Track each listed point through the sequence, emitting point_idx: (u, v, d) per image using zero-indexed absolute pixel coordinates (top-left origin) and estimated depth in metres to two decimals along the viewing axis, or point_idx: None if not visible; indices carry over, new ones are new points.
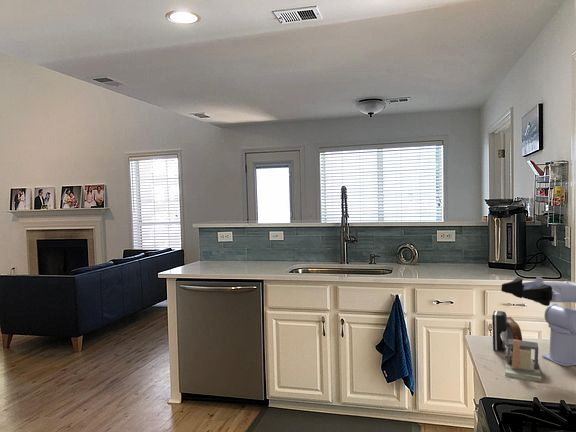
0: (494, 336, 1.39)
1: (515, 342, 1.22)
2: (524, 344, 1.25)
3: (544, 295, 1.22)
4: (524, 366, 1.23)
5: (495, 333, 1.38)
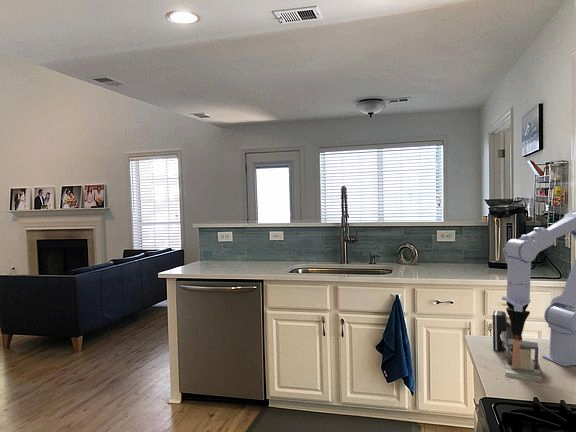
0: (494, 336, 1.39)
1: (515, 342, 1.22)
2: (524, 344, 1.25)
3: None
4: (524, 366, 1.23)
5: (495, 333, 1.38)
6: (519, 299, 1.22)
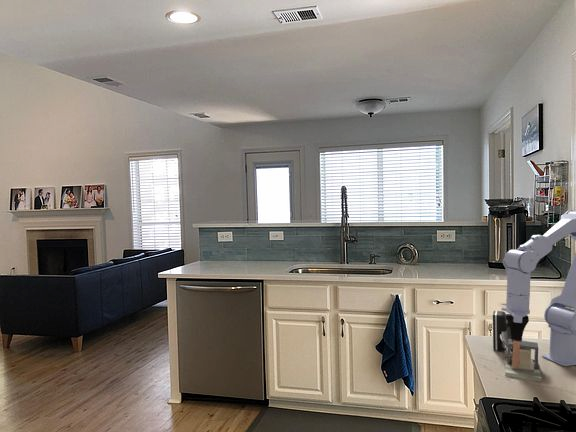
0: (494, 336, 1.39)
1: (515, 342, 1.22)
2: (524, 344, 1.25)
3: None
4: (524, 366, 1.23)
5: (495, 333, 1.38)
6: (519, 310, 1.22)
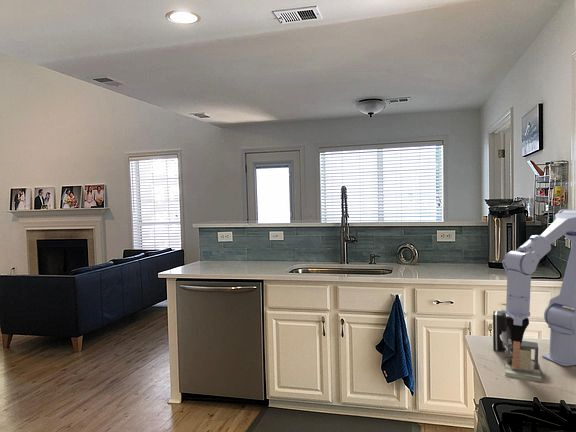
0: (494, 336, 1.39)
1: (515, 343, 1.21)
2: (524, 344, 1.25)
3: None
4: (524, 366, 1.22)
5: (495, 333, 1.38)
6: (519, 312, 1.20)
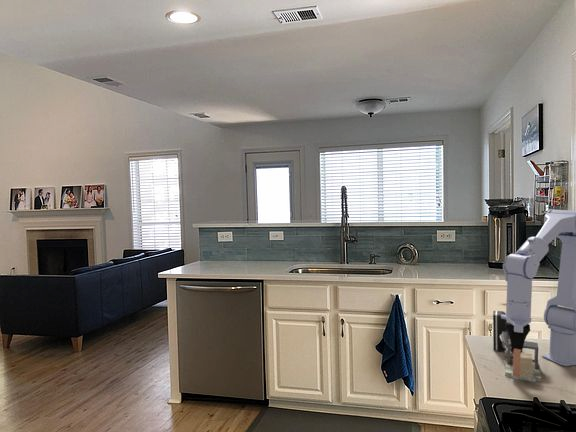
0: (495, 336, 1.39)
1: (515, 350, 1.16)
2: (524, 344, 1.25)
3: None
4: (524, 375, 1.17)
5: (495, 333, 1.38)
6: (519, 318, 1.15)
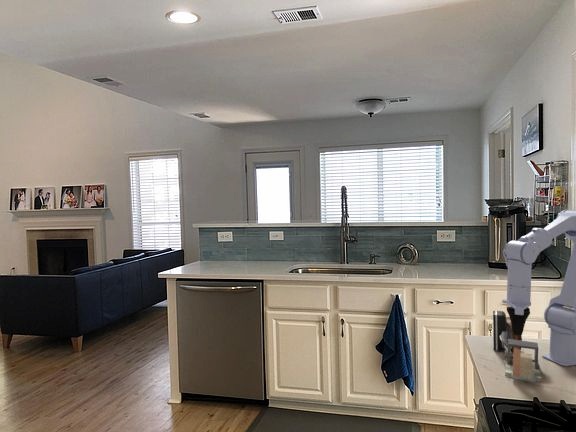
0: (495, 336, 1.39)
1: (515, 350, 1.16)
2: (524, 344, 1.25)
3: None
4: (524, 375, 1.17)
5: (495, 334, 1.38)
6: (520, 302, 1.20)
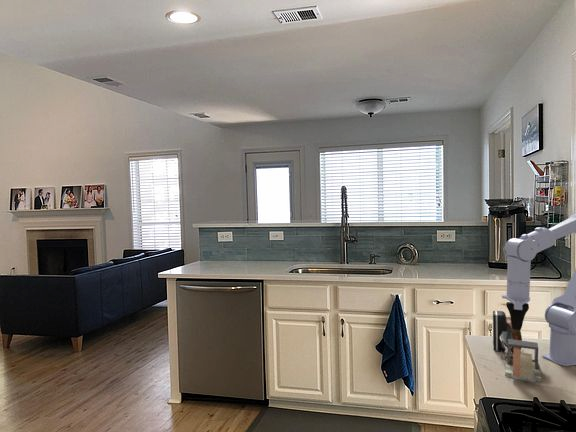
0: (495, 336, 1.39)
1: (515, 350, 1.16)
2: (524, 344, 1.25)
3: None
4: (524, 375, 1.17)
5: (496, 334, 1.38)
6: (519, 297, 1.24)
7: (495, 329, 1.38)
